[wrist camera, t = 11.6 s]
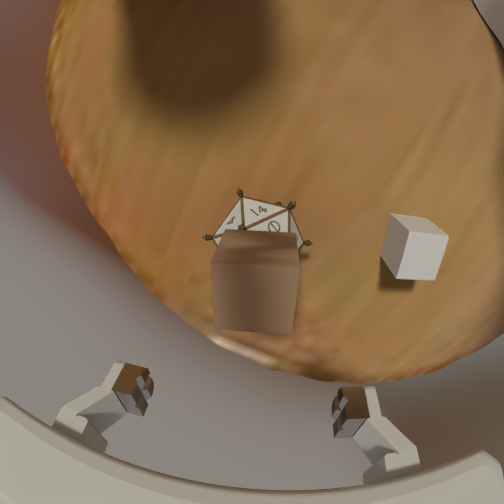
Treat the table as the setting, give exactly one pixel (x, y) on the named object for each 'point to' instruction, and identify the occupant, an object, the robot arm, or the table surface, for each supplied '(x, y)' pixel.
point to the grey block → (413, 247)
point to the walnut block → (255, 281)
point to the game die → (259, 219)
